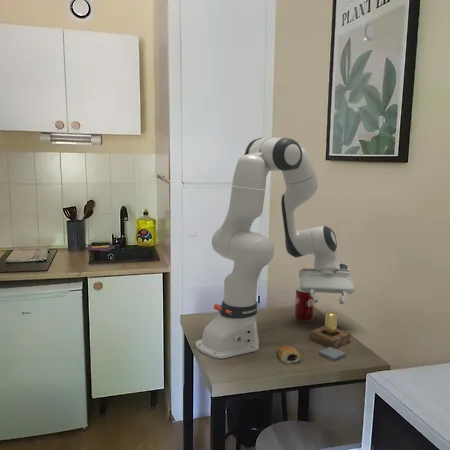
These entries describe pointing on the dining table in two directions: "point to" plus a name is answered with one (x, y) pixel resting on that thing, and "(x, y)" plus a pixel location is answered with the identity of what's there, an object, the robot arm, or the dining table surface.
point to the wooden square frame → (330, 341)
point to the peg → (330, 323)
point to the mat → (332, 353)
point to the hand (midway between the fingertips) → (328, 302)
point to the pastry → (288, 354)
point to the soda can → (304, 306)
